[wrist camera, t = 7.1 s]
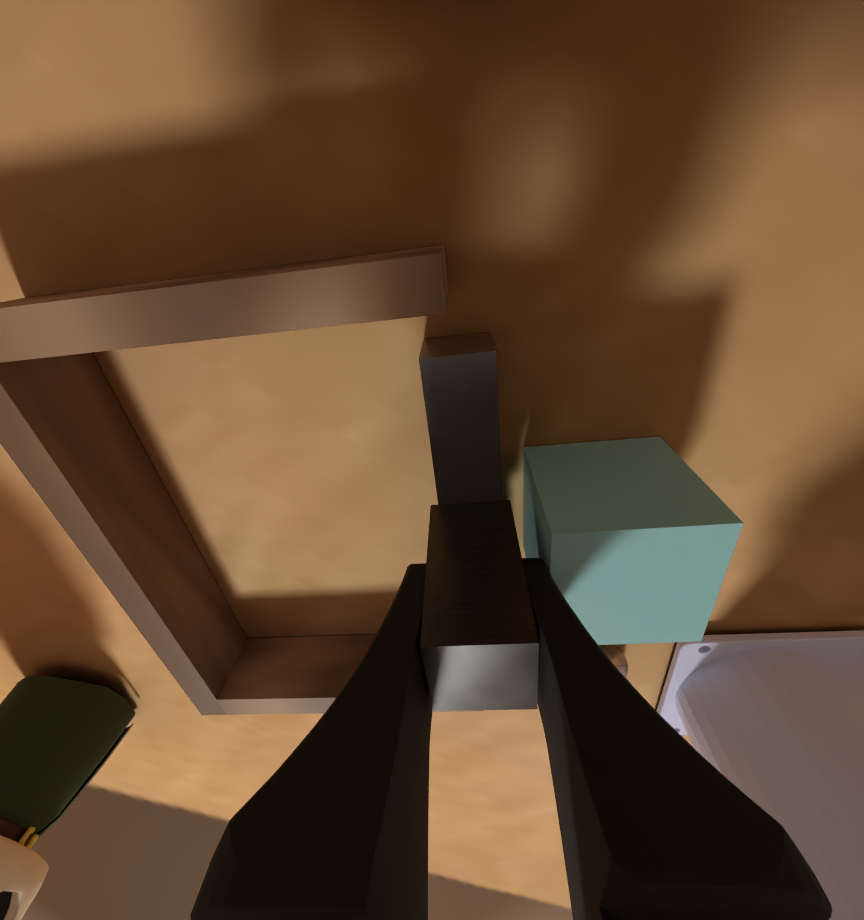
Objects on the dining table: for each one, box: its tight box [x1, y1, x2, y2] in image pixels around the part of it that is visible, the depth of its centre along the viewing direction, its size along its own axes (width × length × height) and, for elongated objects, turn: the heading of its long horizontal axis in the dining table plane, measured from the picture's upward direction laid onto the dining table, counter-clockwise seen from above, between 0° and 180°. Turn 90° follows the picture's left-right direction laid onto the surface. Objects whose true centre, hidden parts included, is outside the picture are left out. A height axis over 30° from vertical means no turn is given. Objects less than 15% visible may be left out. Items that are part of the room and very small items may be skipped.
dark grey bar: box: [419, 332, 539, 711], centre depth 12 cm, size 2×12×7 cm, turn 7°
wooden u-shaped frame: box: [0, 245, 483, 715], centre depth 15 cm, size 13×17×3 cm
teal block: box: [523, 436, 743, 645], centre depth 13 cm, size 4×4×4 cm
